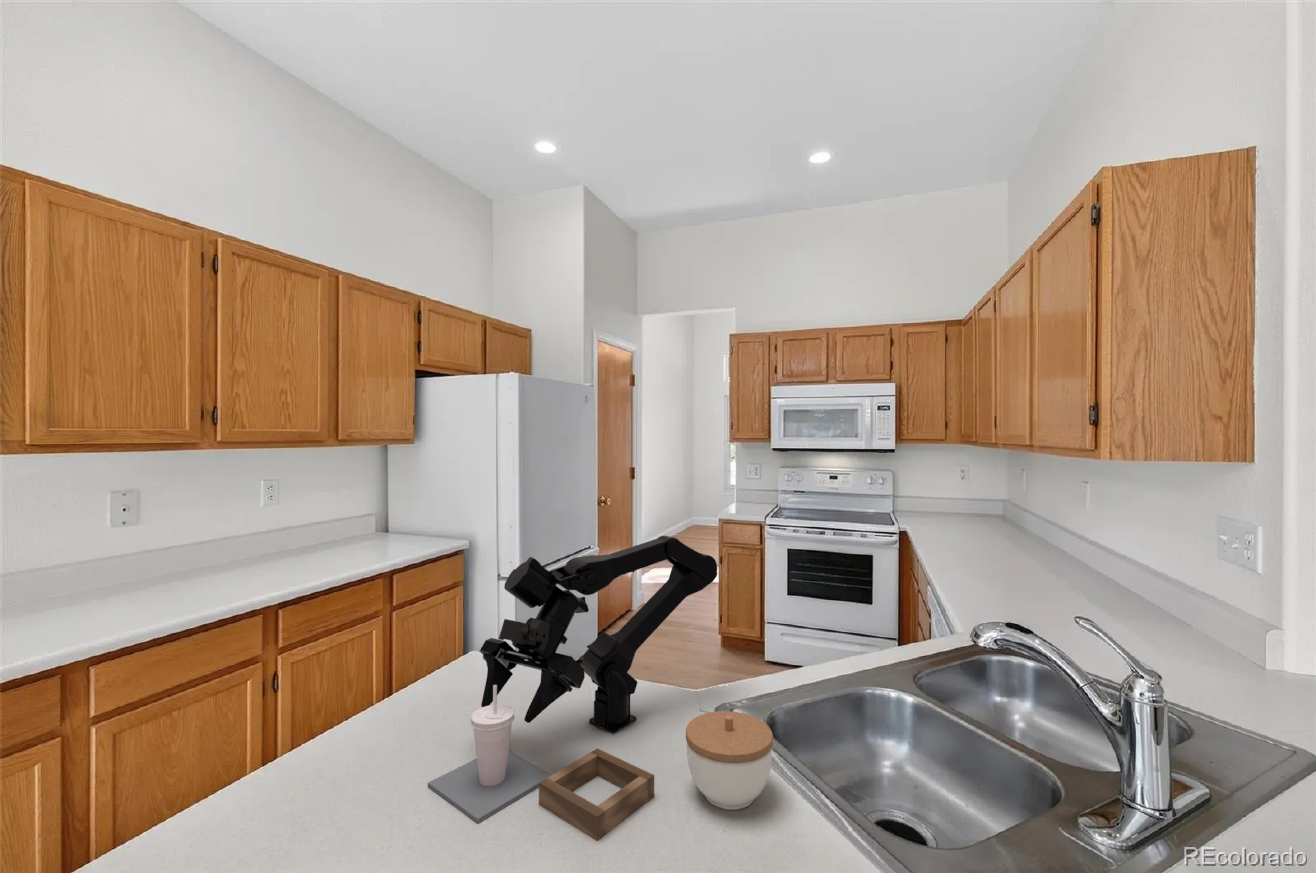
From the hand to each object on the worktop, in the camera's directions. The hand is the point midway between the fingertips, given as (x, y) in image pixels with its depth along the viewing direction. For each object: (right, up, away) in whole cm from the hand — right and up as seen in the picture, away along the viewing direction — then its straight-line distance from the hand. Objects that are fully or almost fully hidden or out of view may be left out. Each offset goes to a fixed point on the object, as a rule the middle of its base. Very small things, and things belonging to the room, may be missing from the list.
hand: (504, 714), depth 85 cm
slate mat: (-1, -9, -2) cm, 9 cm away
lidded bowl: (+34, -9, -5) cm, 36 cm away
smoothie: (-1, -9, -2) cm, 9 cm away
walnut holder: (+15, -9, -6) cm, 19 cm away
